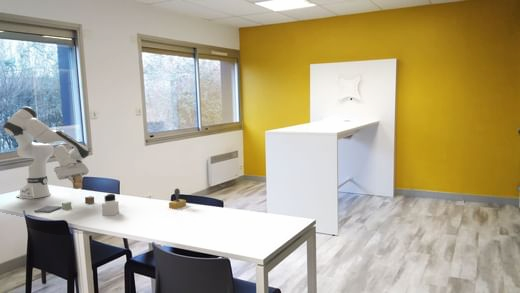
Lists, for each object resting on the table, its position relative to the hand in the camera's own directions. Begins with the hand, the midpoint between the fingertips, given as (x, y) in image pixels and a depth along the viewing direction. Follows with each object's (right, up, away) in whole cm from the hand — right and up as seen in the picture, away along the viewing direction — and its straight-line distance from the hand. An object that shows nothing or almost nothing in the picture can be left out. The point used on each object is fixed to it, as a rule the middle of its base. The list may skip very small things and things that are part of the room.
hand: (77, 181), depth 259 cm
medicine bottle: (+29, -18, -19) cm, 39 cm away
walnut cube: (+4, -15, +8) cm, 18 cm away
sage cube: (-5, -17, -5) cm, 18 cm away
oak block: (0, -5, +1) cm, 5 cm away
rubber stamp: (+66, -16, -6) cm, 69 cm away
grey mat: (-15, -18, -8) cm, 24 cm away
